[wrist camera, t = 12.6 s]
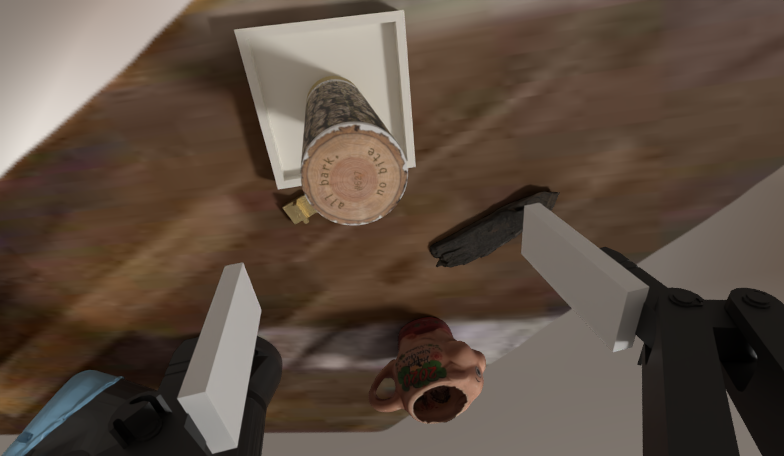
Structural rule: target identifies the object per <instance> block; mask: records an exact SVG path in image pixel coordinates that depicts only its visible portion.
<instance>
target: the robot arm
mask: <svg viewBox="0 0 784 456" xmlns="http://www.w3.org/2000/svg"><path fill="white" fill-rule="evenodd" d="M521 254H522V255H523V256H524V257H525V258H526V259H527V260H528V262H529V263H530V264H531V265H532V266H533V267H534V268H535V269H536V270H537V271H538V272H539V273H540V274H541V276H542V277H543V278H544V279H545V280H546V281H547V282H548V283H549V284H550V285H551V286H552V287H553V288H554V290H555V291H556V292H557V293H558V294H559V295H560V296H561V297H562V298H563V299H564V300H565V301H566V302H567V304H568V305H569V306H570V307H571V308H572V309H573V310H574V311H575V312H576V313H577V314H578V315H579V316H580V317H581V318H582V320H583V321H584V322H585V323H586V324H587V325H588V326H589V327H590V328H591V329H592V330H593V331H594V333H595V334H596V335H597V336H598V337H599V338H600V339H601V340H602V341H603V342H604V343H605V344H606V346H607V347H608V348H609V349H610V350H611V351H612V352H615V351H619V350H623V349H627V348H631V347H632V346H633V342H634V339H635V335H637V336H638V337H639V338H640V339H641V340H642V341H643V342H644V345H643V348H642V351H641V354H640V358H639V361H638V365H641V364H642V406H643V407H642V408H643V409H642V410H643V411H642V414H643V456H740V455H739V450H738V445H737V440H736V436H735V431H734V426H733V422H732V417H731V412H730V408H729V403H728V398H727V394H726V390H727V392H728V394H729V396H730V398H731V399H732V401H733V403H734V405H735V407H736V409H737V411H738V412H739V414H740V416H741V418H742V419H743V421H744V423H745V425H746V427H747V429H748V431H749V432H750V434H751V436H752V438H753V440H754V441H755V443H756V445H757V447H758V449H759V451H760V452H761V454H762V456H784V304H783V303H782V302H781V301H779V300H778V299H776V298H775V297H773V296H772V295H770V294H767V293H766V292H763V291H760V290H756V289H750V288H736V289H734V290H732V291H731V293H730V294H729V297H728V299H727V300H704V299H702V298H701V297H700V296H699V295H697V294H695V293H693V292H691V291H688V290H684V289H681V288H667V287H666V286H664V285H663V284H662V283H660V282H659V281H657V280H656V279H655V278H653V277H652V276H651V275H649V274H648V273H647V272H645V271H644V270H643V269H641V268H638V266H637V265H636V264H634V263H633V262H632V261H631V262H630V261H629V259H628V258H626V257H625V256H623V255H622V254H621V253H619V252H617V251H614V250H612V249H610V248H607V247H603V248H598V247H597V246H595V245H594V244H593V243H591V242H590V241H589V240H587V239H586V238H585V237H584V236H582V235H581V234H580V233H578V232H577V231H576V230H574V229H573V228H572V227H571V226H569V225H568V224H567V223H565V222H564V221H563V220H561V219H560V218H559V217H558V216H556V215H555V214H554V213H552V212H551V211H550V210H548V209H547V208H546V207H544V206H543V205H542V204H541V203H535V204H531V205H526V206H524V220H523V236H522V251H521ZM260 315H261V308H260V305H259V303H258V300H257V297H256V295H255V292H254V290H253V287H252V285H251V282H250V279H249V277H248V274H247V272H246V269H245V267H244V264H243V263H238V264H233V265H228V266H225V267H224V270H223V273H222V276H221V278H220V281H219V284H218V287H217V290H216V292H215V295H214V298H213V301H212V303H211V306H210V309H209V312H208V314H207V317H206V320H205V323H204V325H203V328H202V331H201V334H200V337H198V338H193V339H188V340H184V341H183V343H182V344H181V345H180V346H179V347H178V348H177V350H176V351H175V352H174V354H173V356H172V358H171V361H170V363H169V367H168V368H167V370H166V373H165V377H163V380H162V382H161V384H160V387H159V389H158V390H155V389H152V388H149V387H146V386H143V385H140V384H137V383H134V382H131V381H128V380H125V377H123V376H118V377H116V376H113V375H110V374H106V373H103V372H99V371H96V370H86V371H83V372H80V373H78V374H76V375H75V376H73V377H72V378H71V379H70V380H69V381H68V382H67V383H66V384H65V385H64V386H63V387H62V388H61V389H60V390H59V391H58V392H57V393H56V394H55V395H54V396H53V398H52V399H51V400H50V401H49V402H48V403H47V404H46V405H45V406H44V407H43V409H42V410H41V411H40V412H39V413H38V414H37V415H36V416H35V418H34V419H33V420H32V421H31V422H30V423H29V425H28V426H27V427H26V428H25V429H24V431H23V432H22V433H21V434H20V435H19V436H18V437H17V439H16V440H15V441H14V442H13V443H12V444H11V445H10V446H9V448H8V449H7V450H6V451H5V452H4V453H3V454H2V456H261V455H262V446H263V436H264V427H265V418H266V410H267V407H268V405H269V403H270V401H271V399H272V397H273V395H274V393H275V391H276V389H277V387H278V385H279V383H280V379H281V374H282V359H281V356H280V354H279V352H278V350H277V349H276V348H275V347H274V346H273V345H272V344H270V343H269V342H268V341H266V340H264V339H262V338H260V337H257V332H258V326H259V321H260Z"/></svg>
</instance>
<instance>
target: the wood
mask: <svg viewBox="0 0 784 456" xmlns="http://www.w3.org/2000/svg"><path fill="white" fill-rule="evenodd" d="M559 193H560V192H559ZM559 193H558V192H545V191H544V192H540V193H537V194H535V195H532V196H529V197H526V198H523V199H520V200H518V201H516V202H513V203H510V204H508V205H506V206H503V207H501V208H499V209H498V210H497V211H495V212H493V213H492V214H491V215H489V216H486V217H485V218H483V219H481V220H479V221H476V222H475V223H473V224H472V225H470V226H467V227H465V228H464V229H462V230H461V231H459V232H457V233H454V234H453V235H451V236H449V237H447V238H445V239H443V240H441V241H439V242H436V243H434V244H433V245H431V246H430V252H431V254H432V255H434V258H439V259H440V261H439V262H437V263H438V264H437V265H436V266H437V267H439V266H441V265H442V266H444V267H454V266H458V265H462V264H463V265H465V264H467V263H469V262H471V261H473V260H475V259H477V258H479V257H481V258H482V257H484V256H487V255H489V254H490V253H492V252H493V251H494V250H496V249H497V248H498V247H500V246H502V245H503V244H505V243H507V242H509V241H510V240H511V239H512V238H515V237H516V236H517V235H519V234H520V233H521V232H523V220H524V206H526V205H531V204H535V203H541V204H542V205H543V206H544V207H546V208H547V209H548V210H550V211H551V210H553V209H552V208H553V207H554V204H555V202H556V200H557V197H558V195H559Z"/></svg>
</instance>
